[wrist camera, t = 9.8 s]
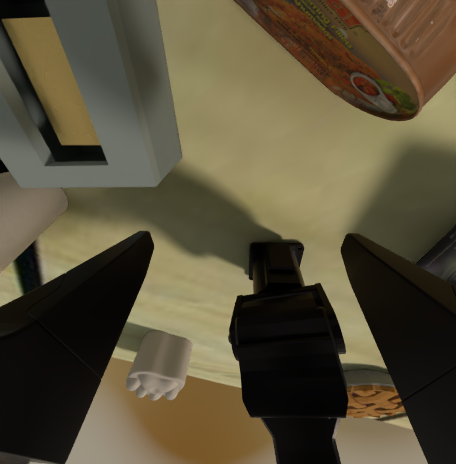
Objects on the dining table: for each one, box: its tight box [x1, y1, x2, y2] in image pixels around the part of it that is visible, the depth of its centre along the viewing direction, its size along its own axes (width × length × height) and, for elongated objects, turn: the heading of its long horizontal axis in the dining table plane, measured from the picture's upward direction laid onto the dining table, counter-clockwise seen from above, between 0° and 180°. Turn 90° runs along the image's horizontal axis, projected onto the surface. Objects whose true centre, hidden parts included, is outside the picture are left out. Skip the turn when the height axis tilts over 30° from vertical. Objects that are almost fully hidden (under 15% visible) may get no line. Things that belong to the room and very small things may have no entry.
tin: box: [235, 0, 456, 121], centre depth 10 cm, size 15×3×8 cm, turn 58°
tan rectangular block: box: [1, 17, 101, 145], centre depth 14 cm, size 6×3×5 cm, turn 1°
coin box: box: [0, 0, 182, 188], centre depth 13 cm, size 11×10×7 cm
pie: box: [343, 370, 406, 418], centre depth 47 cm, size 22×22×5 cm
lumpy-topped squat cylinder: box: [126, 330, 192, 401], centre depth 40 cm, size 10×13×9 cm
